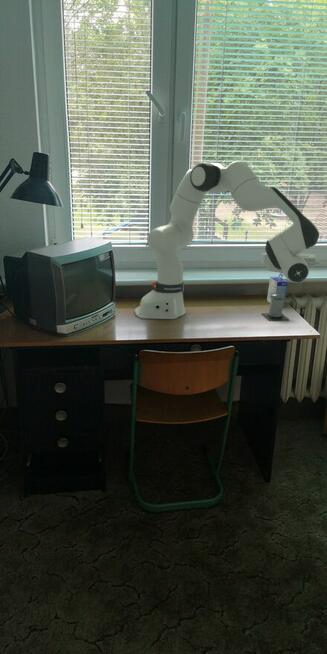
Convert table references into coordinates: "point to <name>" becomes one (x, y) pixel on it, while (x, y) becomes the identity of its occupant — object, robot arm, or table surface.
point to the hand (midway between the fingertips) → (285, 255)
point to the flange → (274, 318)
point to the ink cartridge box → (277, 287)
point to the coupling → (276, 305)
